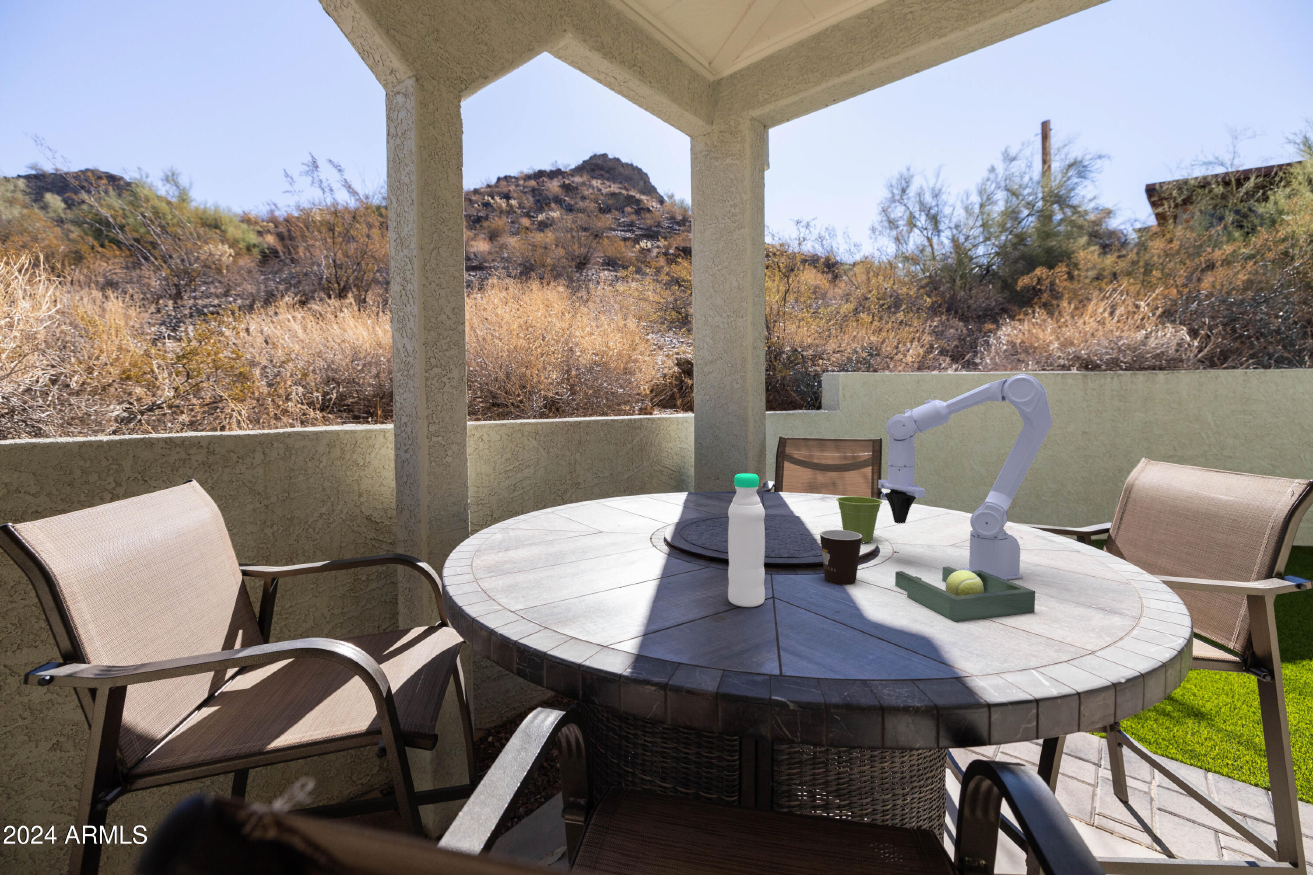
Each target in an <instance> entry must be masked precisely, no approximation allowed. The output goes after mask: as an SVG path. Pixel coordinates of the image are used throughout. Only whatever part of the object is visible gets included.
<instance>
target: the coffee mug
mask: <svg viewBox="0 0 1313 875" xmlns="http://www.w3.org/2000/svg"><path fill="white" fill-rule="evenodd" d="M819 536H820V538H819V539H820V547H821V556H822V566H823V574H824V576H823V577H824V580H825V582H827V583H829V584H832V585H837V586H850V585H854V584H855V583H856V582H857V574H858V569H859V560H860V554H861V546H862V544H861V540H862V535H861V534H859V533H856V532H852V531H846V530H843V529H829V530H828V529H827V530H823V531H821V532H820V533H819Z"/></svg>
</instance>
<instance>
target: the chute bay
mask: <svg viewBox="0 0 1313 875" xmlns="http://www.w3.org/2000/svg"><path fill="white" fill-rule="evenodd" d="M959 570H960V569H956V568H953V567H952V566H942V576H941V577H942V579H941V580H942V582H944V583H946V581H947V579H948V577H949V576H950V575H951V574H952V573H954V572H956V571H959ZM972 573H974V574H976V575H977V576H978V577H979V578H980V579H981V581H982V583H983V586H984V593H981V594H972V595H963V596H956V595H953V594H951V593H949V592H947V591H946V589H942V588H940V587H938V586H936V585H934V584H931V583H930V582H927V581H925V580H923V579H922V578H921V577H919V576H914V575H912V574H910V573H907V572H905V571H903V570H897V571H895V574H894V575H895V576H894V577H895V578H894V580H895V584H894V586H895V587H897V588H900V589H902V590H903V591H905V592H906V596H907V598H908V599H910V600H912V601H914V602H916V603H918V604H920V605H922V606H924V607H926V608H927V609H930V610H931V611H933V612H935V613H938V614H939V615H941V616H943V617H946V618H947V619H949V620H951V621H952V622H955V623H958V622H966V621H974V620H983V619H989V618H999V617H1007V616H1008V617H1009V616H1014V615H1015V616H1017V615H1023V614H1031V613H1033V614H1034V613H1035V609H1036V607H1035V606H1036V605H1035V604H1036V590H1033V589H1031V588H1028V587H1026V586H1023V585H1020V584H1018V583H1016V582H1013V581H1010V580H1009V579H1007V580H1005V579H1002V578H1000V577H997V576H995V575H992V574H989V573H987V572H984V571H981V570H975V571H972Z"/></svg>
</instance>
